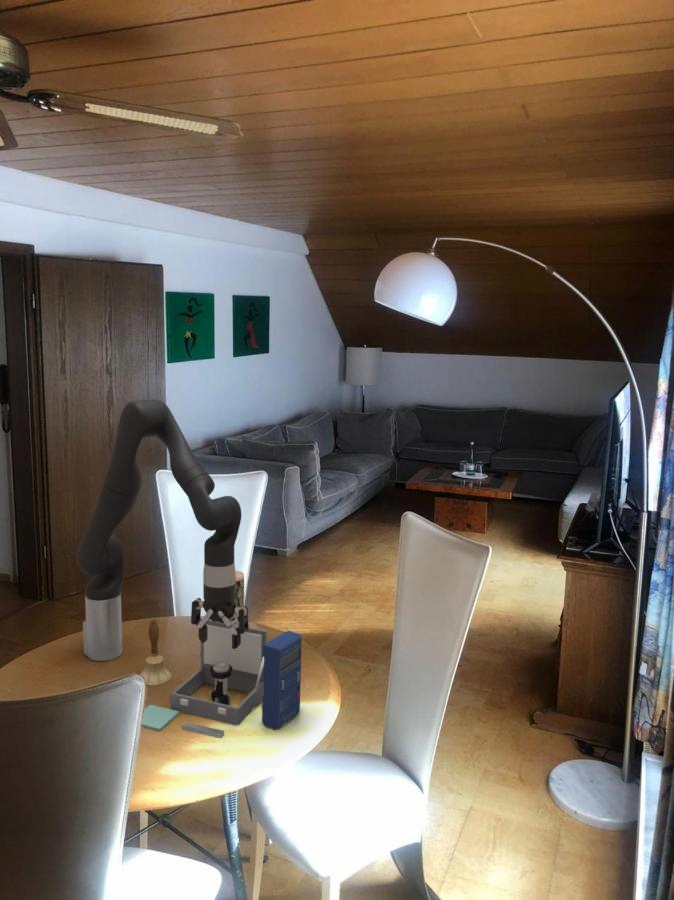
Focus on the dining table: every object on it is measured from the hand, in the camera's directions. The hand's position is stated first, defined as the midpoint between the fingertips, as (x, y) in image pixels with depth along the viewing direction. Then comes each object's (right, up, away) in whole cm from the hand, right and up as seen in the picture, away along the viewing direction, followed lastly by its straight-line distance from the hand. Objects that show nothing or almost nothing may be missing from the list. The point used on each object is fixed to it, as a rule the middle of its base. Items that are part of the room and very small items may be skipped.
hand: (219, 644), depth 180 cm
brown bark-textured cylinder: (-1, -11, +23) cm, 25 cm away
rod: (-2, -18, -10) cm, 20 cm away
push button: (-1, -15, +3) cm, 15 cm away
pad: (-14, -16, -5) cm, 22 cm away
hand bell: (-19, -12, +14) cm, 26 cm away
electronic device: (+15, -17, -4) cm, 23 cm away
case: (-1, -15, +3) cm, 15 cm away
